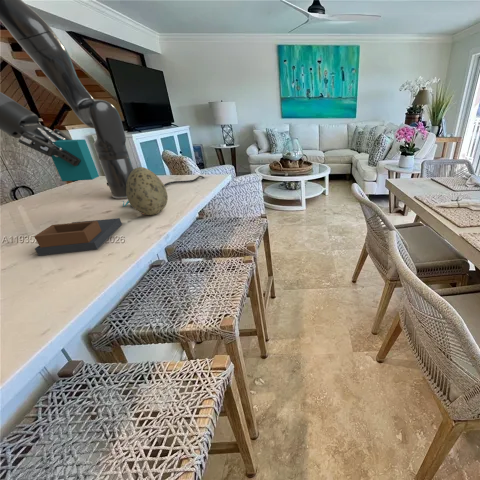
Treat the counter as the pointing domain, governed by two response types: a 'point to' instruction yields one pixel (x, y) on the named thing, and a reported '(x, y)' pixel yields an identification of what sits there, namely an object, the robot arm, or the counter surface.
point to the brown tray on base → (75, 236)
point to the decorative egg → (146, 191)
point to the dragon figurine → (126, 203)
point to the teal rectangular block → (85, 167)
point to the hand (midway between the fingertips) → (82, 161)
